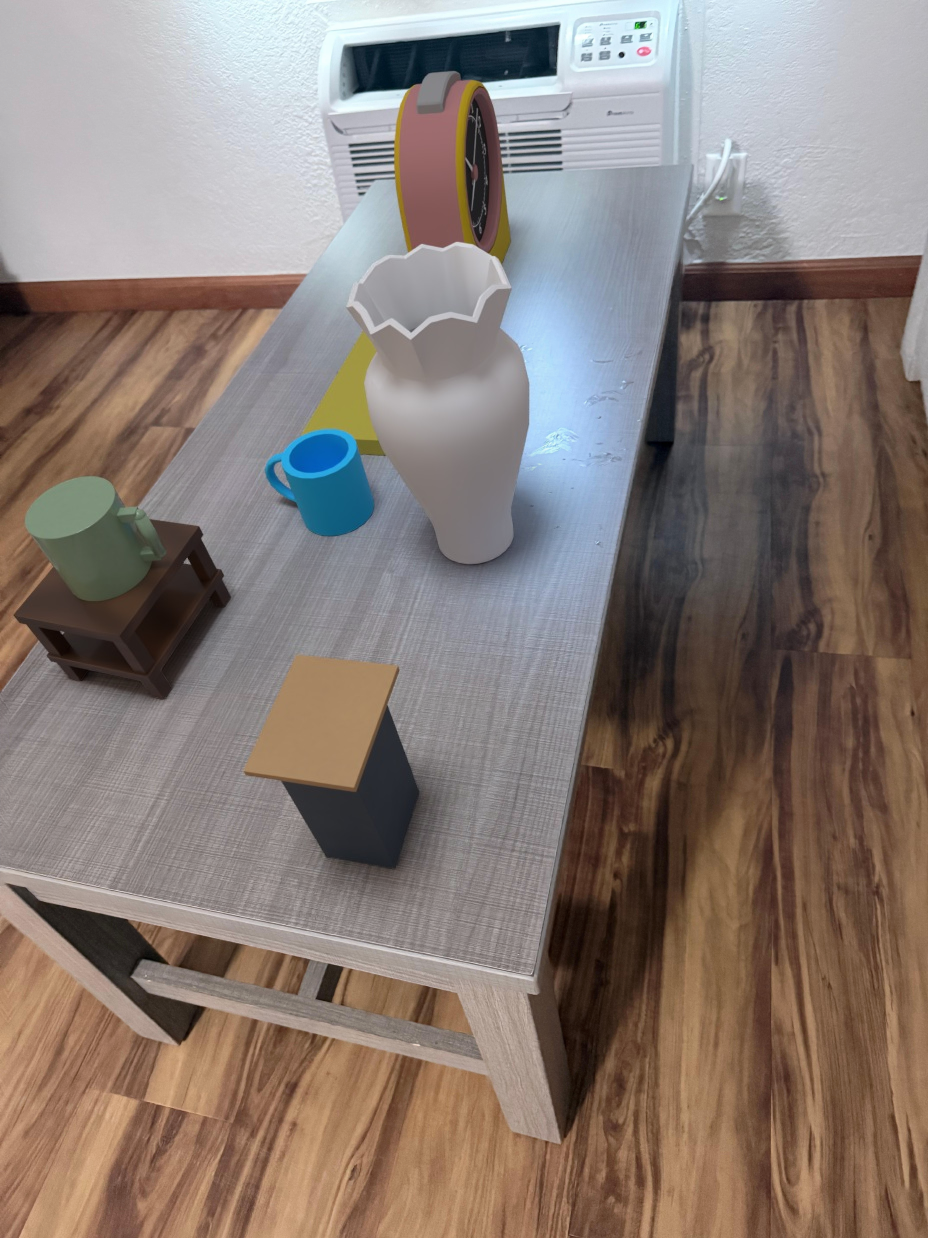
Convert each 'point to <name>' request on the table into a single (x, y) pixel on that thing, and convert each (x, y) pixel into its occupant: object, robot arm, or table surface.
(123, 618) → the rack
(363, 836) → the stand
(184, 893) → the table surface
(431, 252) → the vase
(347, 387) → the flat olive board
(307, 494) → the mug
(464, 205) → the alarm clock
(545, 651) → the table surface
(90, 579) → the green coffee cup
